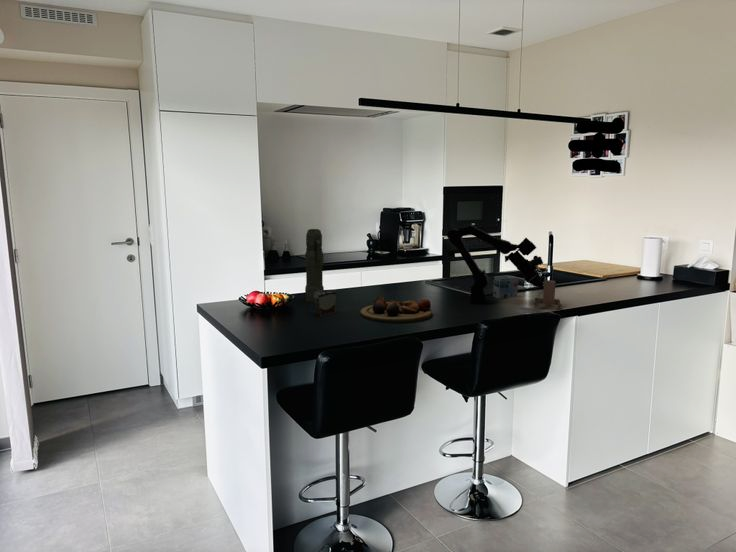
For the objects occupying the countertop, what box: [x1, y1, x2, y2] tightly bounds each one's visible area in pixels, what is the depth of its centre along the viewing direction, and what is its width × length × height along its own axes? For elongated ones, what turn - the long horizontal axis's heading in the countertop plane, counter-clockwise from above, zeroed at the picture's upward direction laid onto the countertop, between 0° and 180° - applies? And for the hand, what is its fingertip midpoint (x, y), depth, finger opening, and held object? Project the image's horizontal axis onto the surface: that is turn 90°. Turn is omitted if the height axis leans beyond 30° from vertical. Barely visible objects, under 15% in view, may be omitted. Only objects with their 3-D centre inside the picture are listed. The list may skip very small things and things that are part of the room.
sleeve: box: [534, 297, 561, 311], centre depth 265 cm, size 11×14×3 cm
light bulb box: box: [492, 275, 519, 300], centre depth 286 cm, size 11×7×11 cm, turn 105°
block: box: [542, 279, 556, 305], centre depth 264 cm, size 5×5×12 cm
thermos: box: [304, 228, 325, 304], centre depth 272 cm, size 9×12×35 cm
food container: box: [314, 289, 338, 317], centre depth 249 cm, size 12×6×10 cm, turn 141°
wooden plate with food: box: [359, 295, 434, 324], centre depth 248 cm, size 32×32×8 cm
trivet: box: [513, 307, 539, 314], centre depth 256 cm, size 11×11×1 cm
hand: (543, 286), depth 264 cm, fingers open, 9 cm apart
